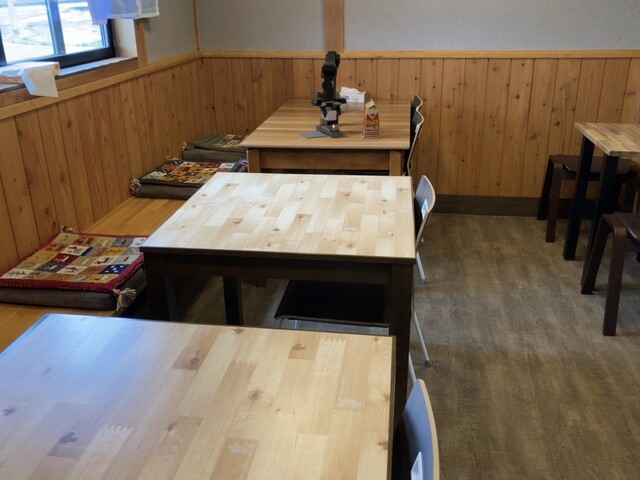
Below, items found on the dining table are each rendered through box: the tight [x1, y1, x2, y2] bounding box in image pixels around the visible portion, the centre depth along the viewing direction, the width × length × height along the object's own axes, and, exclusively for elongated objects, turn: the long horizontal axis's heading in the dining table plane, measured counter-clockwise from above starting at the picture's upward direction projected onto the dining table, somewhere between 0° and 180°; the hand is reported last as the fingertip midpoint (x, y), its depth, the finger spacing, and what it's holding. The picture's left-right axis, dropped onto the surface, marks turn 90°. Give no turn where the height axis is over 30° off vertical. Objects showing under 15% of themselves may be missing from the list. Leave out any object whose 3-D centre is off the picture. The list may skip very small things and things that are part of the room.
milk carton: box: [360, 98, 381, 140], centre depth 307 cm, size 9×9×20 cm
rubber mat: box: [297, 130, 328, 140], centre depth 315 cm, size 12×12×1 cm
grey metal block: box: [321, 107, 336, 121], centre depth 314 cm, size 8×5×6 cm, turn 24°
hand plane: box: [315, 117, 344, 139], centre depth 317 cm, size 22×6×7 cm, turn 24°
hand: (329, 117), depth 315 cm, fingers closed on grey metal block, 5 cm apart
